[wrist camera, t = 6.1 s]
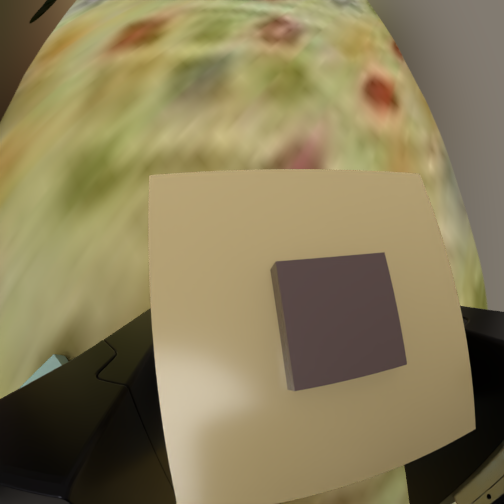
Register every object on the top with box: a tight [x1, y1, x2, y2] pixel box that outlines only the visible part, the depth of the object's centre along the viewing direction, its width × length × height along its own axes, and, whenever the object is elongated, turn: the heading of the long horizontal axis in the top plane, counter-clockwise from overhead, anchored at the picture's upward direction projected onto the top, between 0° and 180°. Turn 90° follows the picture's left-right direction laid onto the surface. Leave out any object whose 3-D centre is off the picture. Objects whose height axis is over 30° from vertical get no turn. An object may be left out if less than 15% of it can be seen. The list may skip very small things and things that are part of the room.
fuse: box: [148, 169, 476, 504], centre depth 9 cm, size 4×4×12 cm
